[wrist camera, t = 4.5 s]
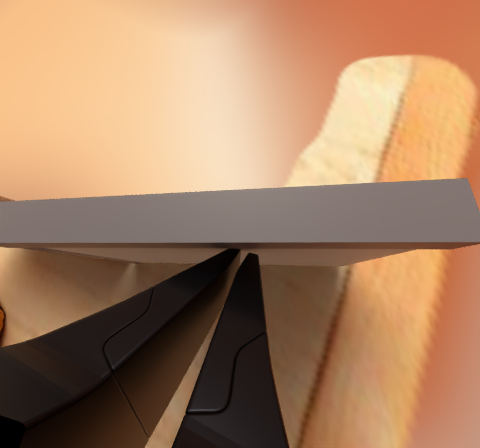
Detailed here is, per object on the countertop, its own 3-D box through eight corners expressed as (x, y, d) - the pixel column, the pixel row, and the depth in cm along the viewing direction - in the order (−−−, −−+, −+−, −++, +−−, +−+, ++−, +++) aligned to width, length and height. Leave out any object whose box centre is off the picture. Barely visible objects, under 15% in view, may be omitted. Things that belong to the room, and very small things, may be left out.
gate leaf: (130, 264, 16) (-52, 242, 7) (134, 246, 16) (-32, 203, 7) (342, 269, 13) (490, 242, 4) (339, 246, 14) (467, 178, 5)
